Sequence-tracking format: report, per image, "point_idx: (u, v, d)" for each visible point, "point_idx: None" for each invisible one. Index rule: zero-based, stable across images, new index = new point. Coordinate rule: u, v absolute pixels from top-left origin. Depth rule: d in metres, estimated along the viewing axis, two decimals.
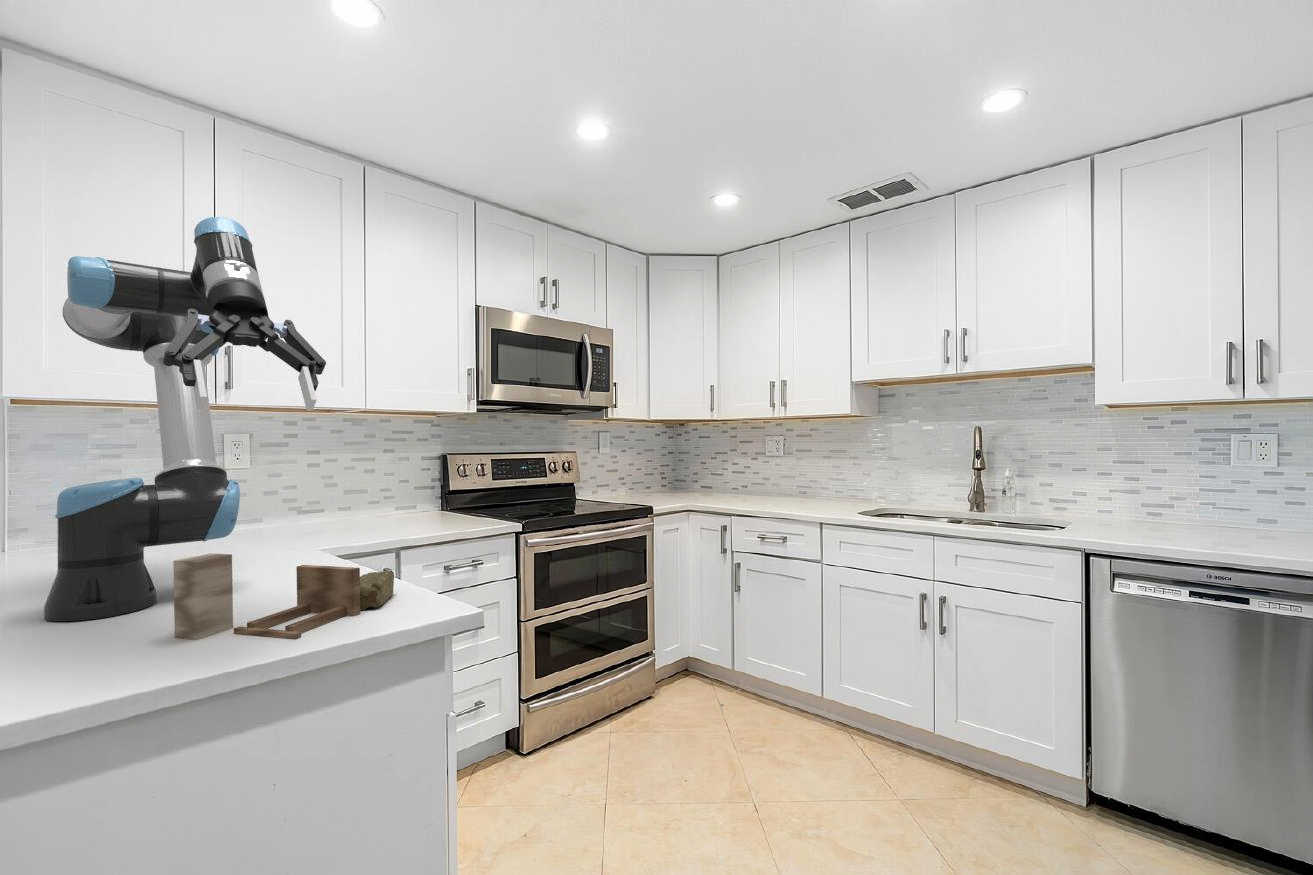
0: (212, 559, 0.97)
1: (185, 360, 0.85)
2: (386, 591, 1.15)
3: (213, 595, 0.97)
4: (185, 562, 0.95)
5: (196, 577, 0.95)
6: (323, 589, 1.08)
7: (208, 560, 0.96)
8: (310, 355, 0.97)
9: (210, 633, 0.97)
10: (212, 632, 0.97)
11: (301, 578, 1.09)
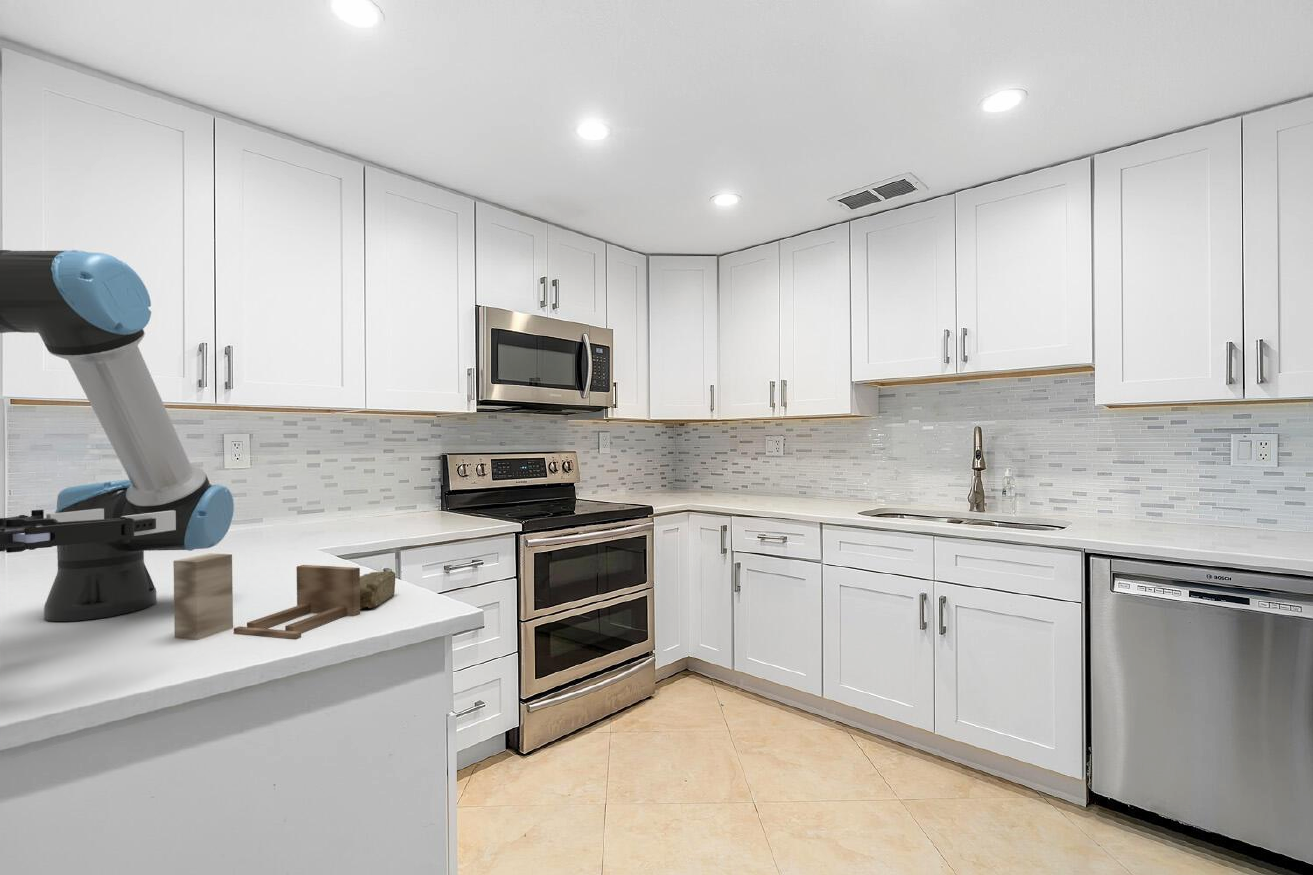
0: (212, 559, 0.97)
1: None
2: (384, 592, 1.15)
3: (213, 595, 0.97)
4: (185, 562, 0.95)
5: (196, 577, 0.95)
6: (323, 589, 1.08)
7: (208, 560, 0.96)
8: None
9: (210, 633, 0.97)
10: (212, 632, 0.97)
11: (301, 578, 1.09)
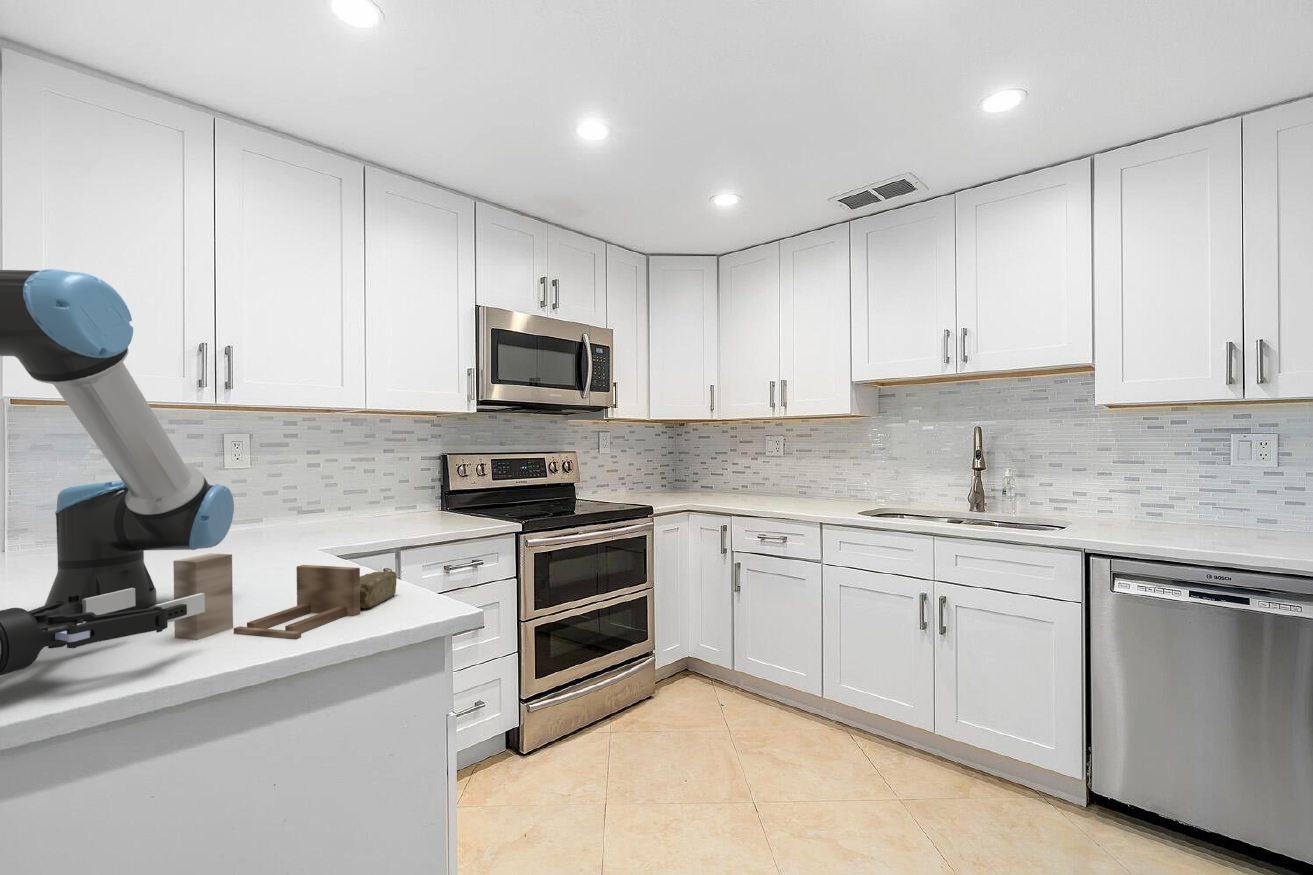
0: (212, 559, 0.97)
1: None
2: (382, 592, 1.14)
3: (213, 595, 0.97)
4: (185, 562, 0.95)
5: (196, 577, 0.95)
6: (323, 589, 1.08)
7: (208, 560, 0.96)
8: None
9: (210, 633, 0.97)
10: (212, 632, 0.97)
11: (301, 578, 1.09)
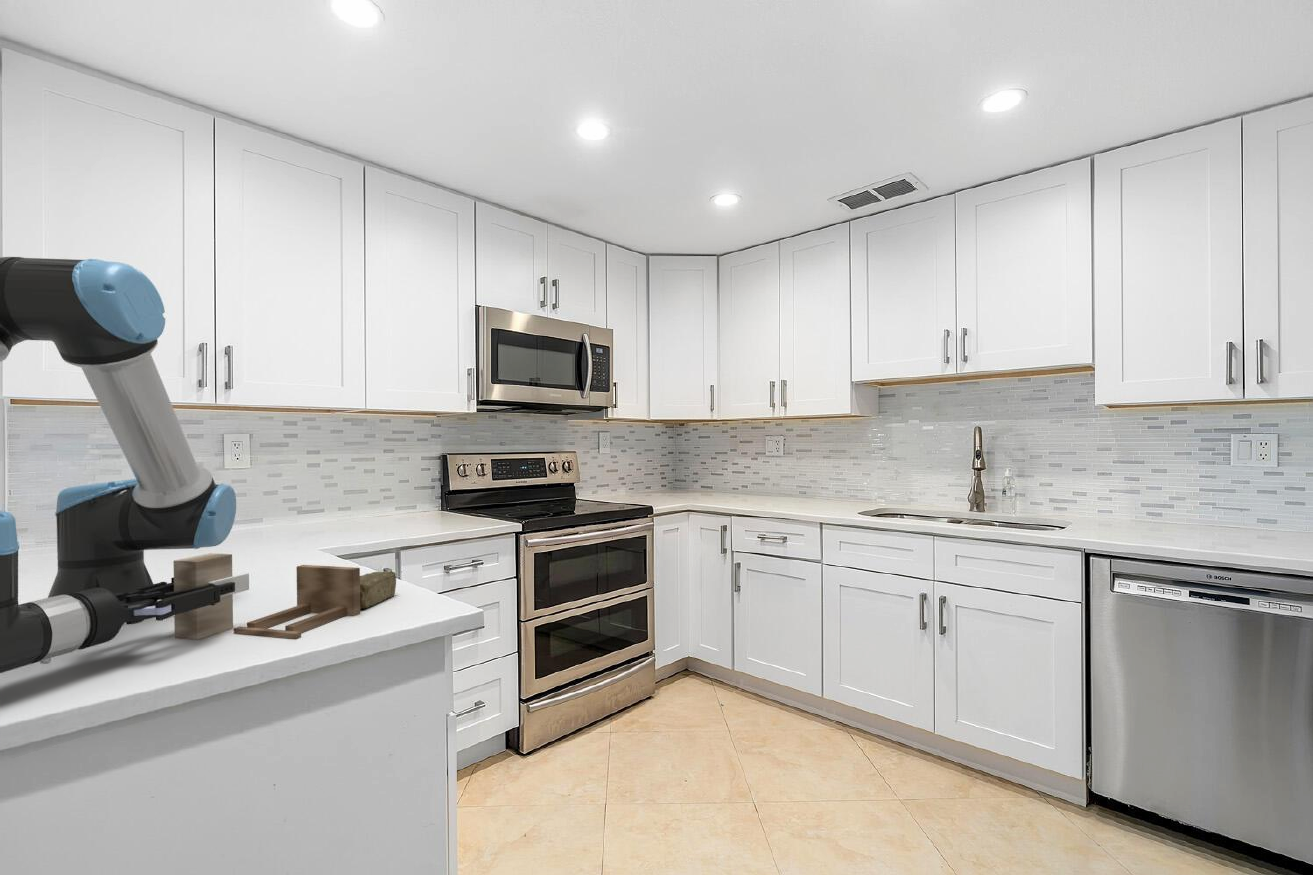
0: (212, 559, 0.97)
1: None
2: (379, 592, 1.14)
3: None
4: (185, 562, 0.95)
5: (196, 577, 0.95)
6: (323, 589, 1.08)
7: (208, 560, 0.96)
8: None
9: (210, 633, 0.97)
10: (212, 632, 0.97)
11: (301, 578, 1.09)
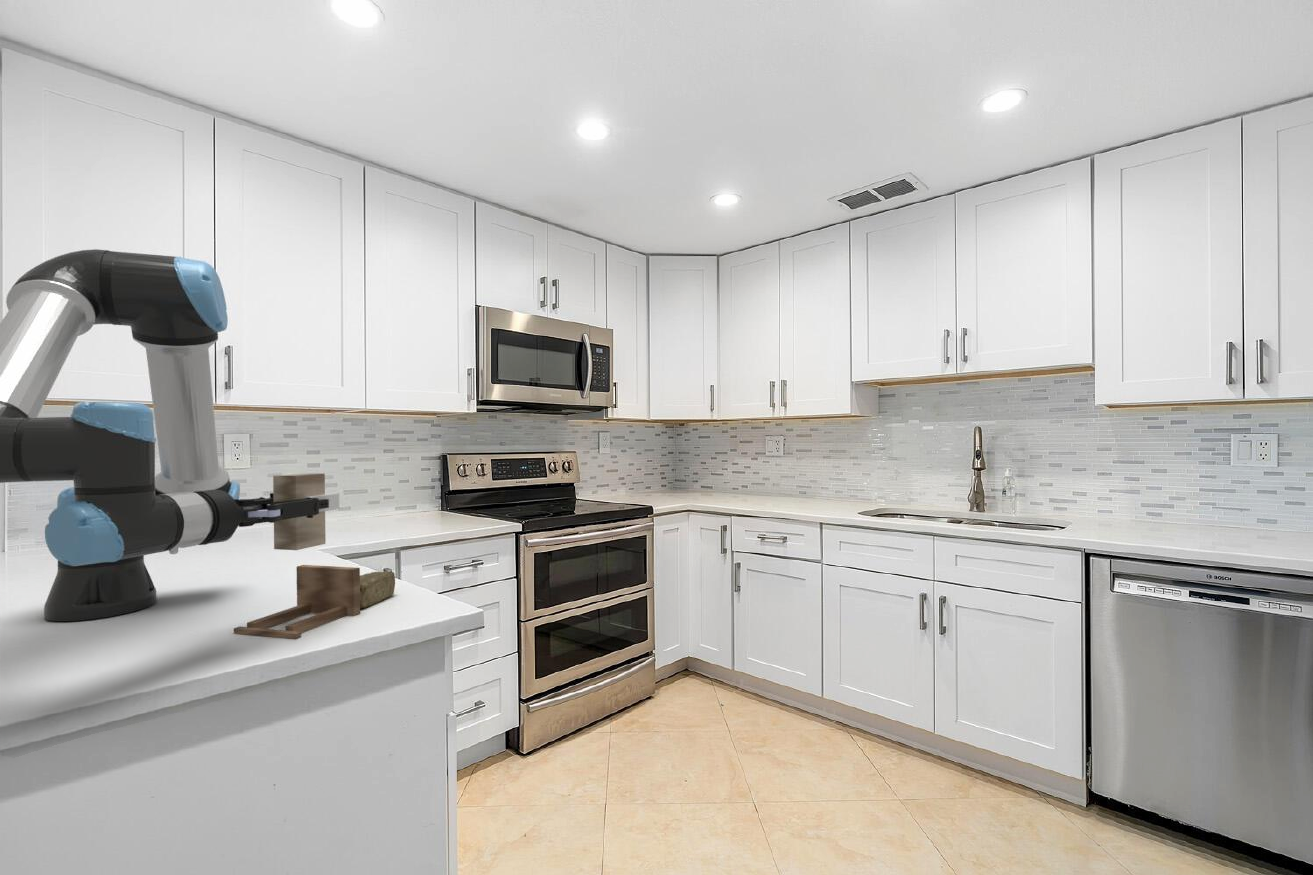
0: (309, 475, 1.02)
1: None
2: (377, 592, 1.14)
3: None
4: (285, 476, 1.00)
5: (296, 490, 0.99)
6: (323, 589, 1.08)
7: (305, 476, 1.01)
8: None
9: (307, 545, 1.01)
10: (309, 545, 1.02)
11: (301, 578, 1.09)
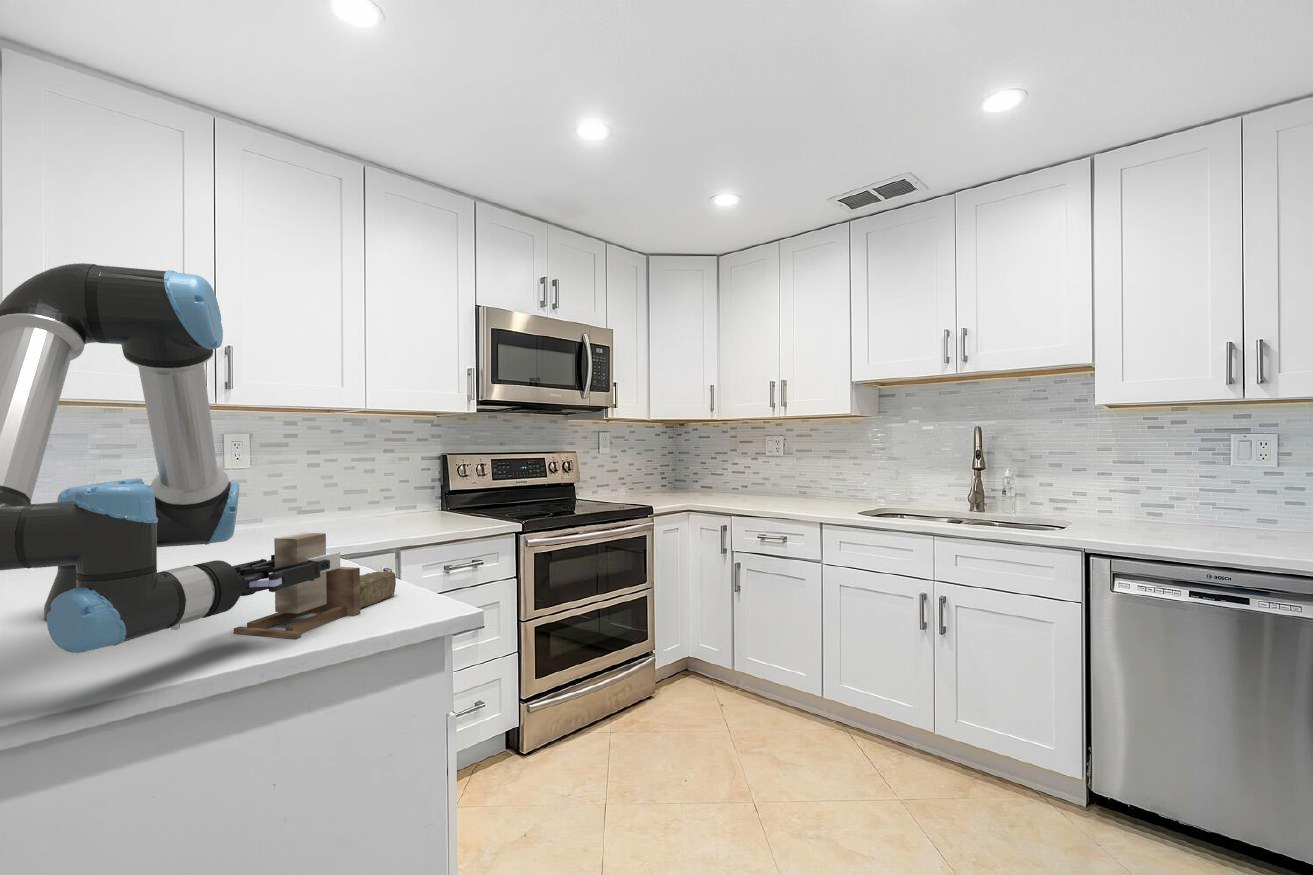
0: (310, 537, 1.02)
1: None
2: (375, 593, 1.14)
3: None
4: (286, 539, 1.00)
5: (297, 554, 0.99)
6: None
7: (306, 538, 1.01)
8: None
9: (308, 607, 1.01)
10: (310, 607, 1.02)
11: None
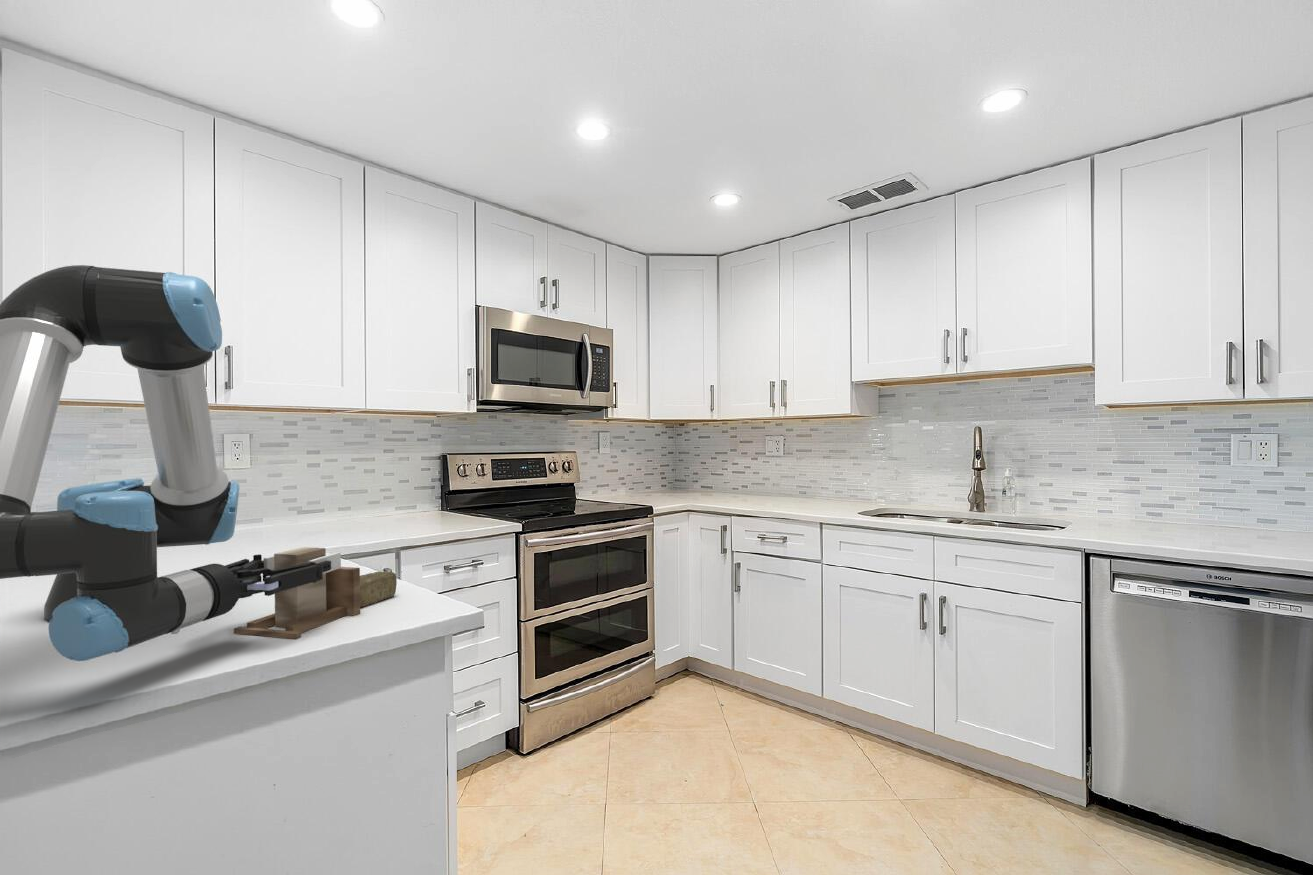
0: (309, 552, 1.02)
1: None
2: (373, 593, 1.14)
3: (310, 587, 1.02)
4: (286, 555, 1.00)
5: None
6: None
7: (306, 553, 1.01)
8: None
9: None
10: None
11: None
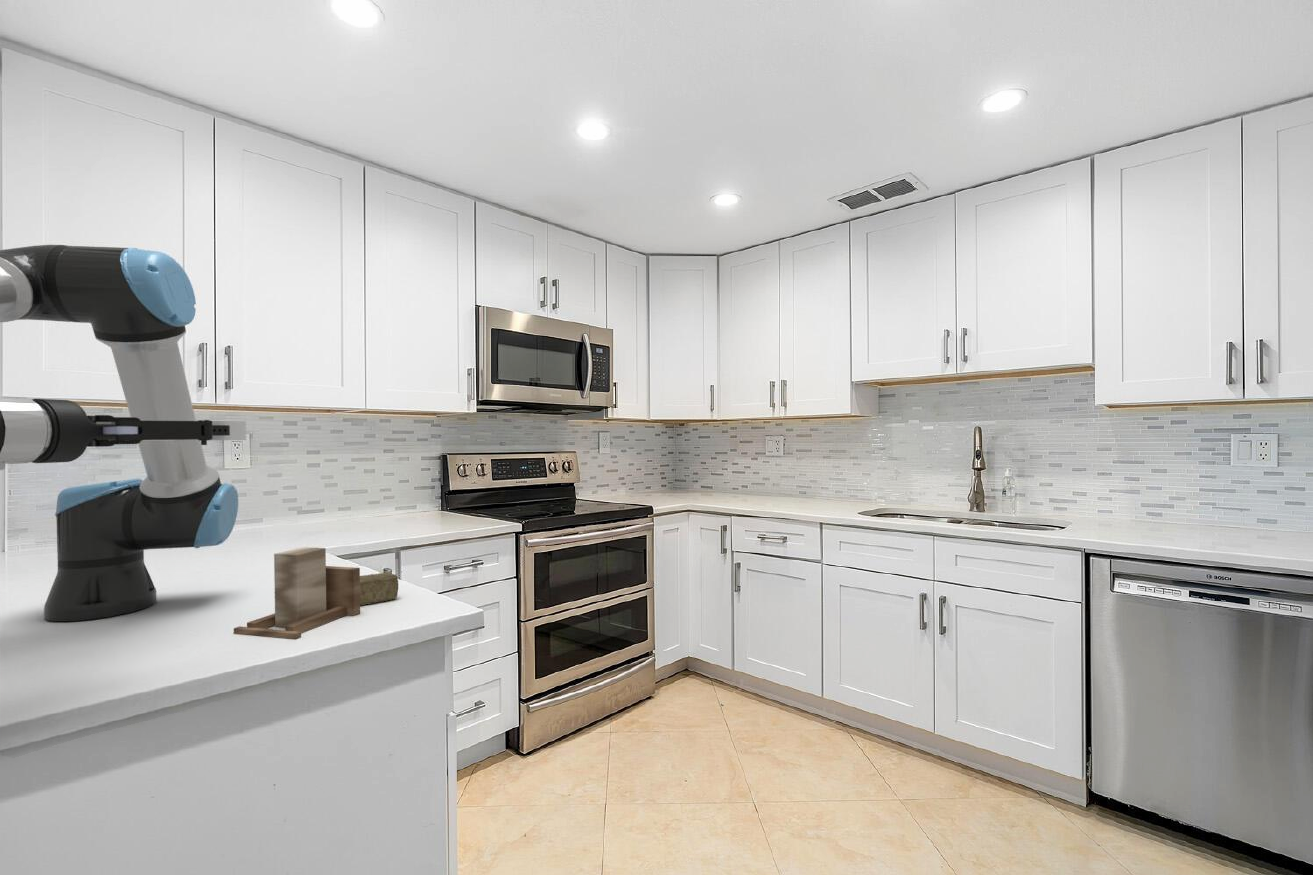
0: (309, 552, 1.02)
1: None
2: (365, 594, 1.13)
3: (310, 587, 1.02)
4: (286, 555, 1.00)
5: (297, 569, 0.99)
6: None
7: (306, 553, 1.01)
8: None
9: None
10: None
11: None
